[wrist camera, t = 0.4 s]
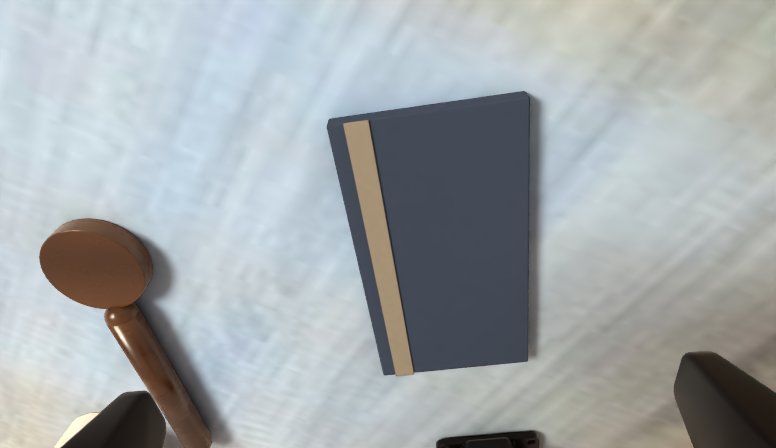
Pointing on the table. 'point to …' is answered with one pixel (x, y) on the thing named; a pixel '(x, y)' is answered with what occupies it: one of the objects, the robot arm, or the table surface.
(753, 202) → the table surface
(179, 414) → the spoon
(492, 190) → the notebook
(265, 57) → the table surface
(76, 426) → the white tumbler
